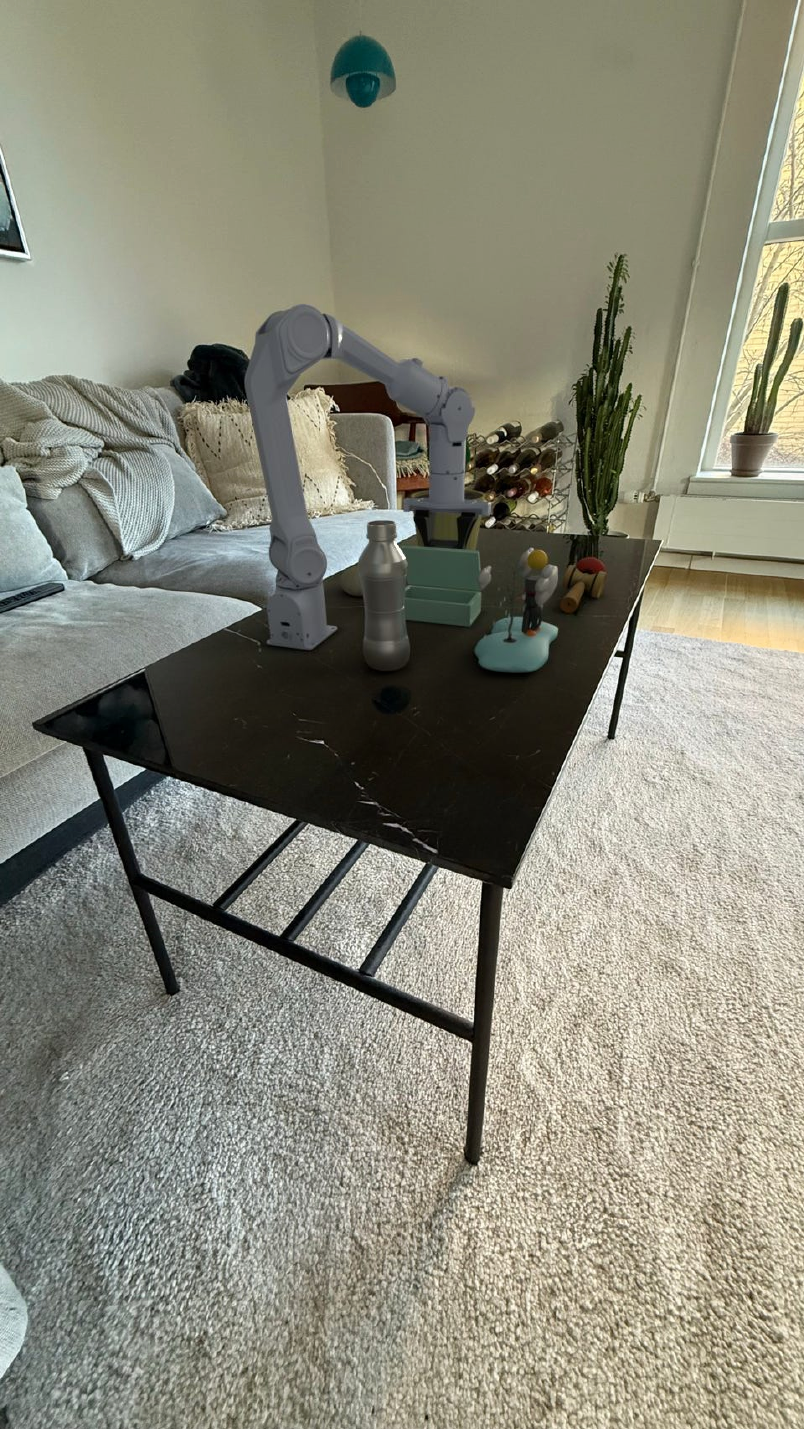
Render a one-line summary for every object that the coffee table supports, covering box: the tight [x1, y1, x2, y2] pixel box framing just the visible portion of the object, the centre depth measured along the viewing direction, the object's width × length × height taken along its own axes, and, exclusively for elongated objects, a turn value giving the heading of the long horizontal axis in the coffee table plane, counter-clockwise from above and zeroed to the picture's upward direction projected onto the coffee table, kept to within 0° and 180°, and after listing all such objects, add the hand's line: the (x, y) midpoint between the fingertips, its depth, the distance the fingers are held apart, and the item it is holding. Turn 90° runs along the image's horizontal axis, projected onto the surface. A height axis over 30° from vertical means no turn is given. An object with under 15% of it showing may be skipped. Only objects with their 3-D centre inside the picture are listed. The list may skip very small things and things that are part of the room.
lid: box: [399, 539, 482, 592], centre depth 102 cm, size 8×13×4 cm
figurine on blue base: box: [474, 547, 559, 674], centre depth 85 cm, size 20×11×15 cm, turn 156°
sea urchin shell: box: [339, 564, 363, 597], centre depth 115 cm, size 9×8×8 cm
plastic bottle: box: [357, 519, 411, 672], centre depth 80 cm, size 6×7×20 cm
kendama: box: [559, 556, 608, 614], centre depth 108 cm, size 8×6×18 cm
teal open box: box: [404, 584, 482, 628], centre depth 102 cm, size 7×13×4 cm, turn 70°
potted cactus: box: [410, 432, 486, 550], centre depth 123 cm, size 15×15×30 cm
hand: (445, 557), depth 102 cm, fingers closed on lid, 5 cm apart
